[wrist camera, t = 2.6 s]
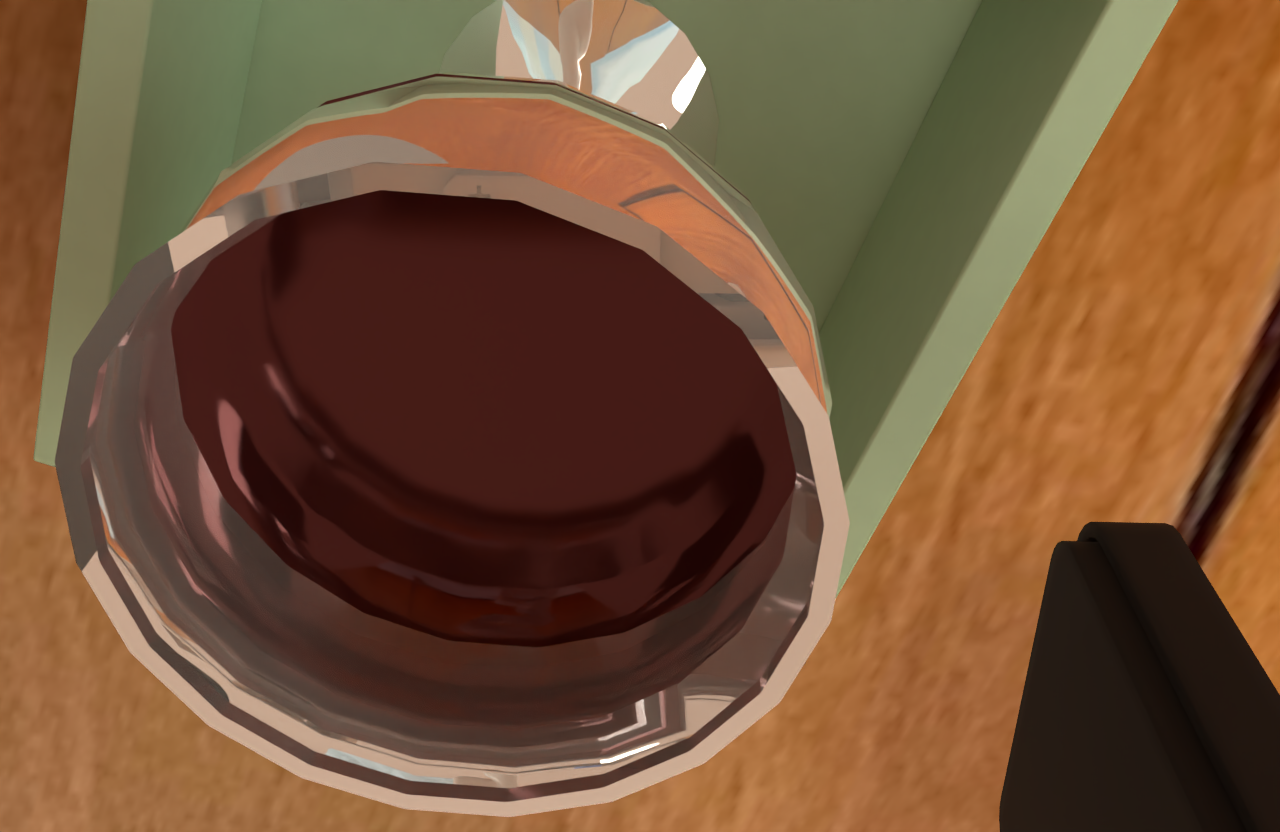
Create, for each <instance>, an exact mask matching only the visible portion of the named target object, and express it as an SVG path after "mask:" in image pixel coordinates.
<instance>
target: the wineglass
mask: <svg viewBox="0 0 1280 832" xmlns="http://www.w3.org/2000/svg"><path fill="white" fill-rule="evenodd" d="M718 125H719V117H718V112H717V108H716V103H715V99H714V94H713V90H712V85H711V80H710V76H709V73H708V72H707V70H706V68H705V67H704V65H703V63H702V61H701V60H700V58H699V56H698V55H697V53H696V51H695V50H694V48H693V46H692V45H691V43H690V41H689V39H688V38H687V36H686V34H685V33H684V32H683V31H681V30H680V29H679V28H678V27H677V26H676V25H675V24H673V23H672V22H671V21H670V20H669V19H668V18H667V17H666V16H664V15H663V14H662V13H661V12H660V11H659V10H658V9H656V8H655V7H654V6H653V5H652V4H651V3H650V2H648V1H646V0H497V1H495V2H494V3H492V4H491V5H489V6H488V7H486V8H485V9H483V10H482V11H480V12H479V13H477V14H476V15H475V16H473V17H472V18H471V19H470V21H469V22H468V23H467V25H466V26H465V27H464V29H463V30H462V31H461V33H460V34H459V35H458V37H457V38H456V40H455V41H454V42H453V44H452V45H451V46H450V48H449V49H448V50H447V52H446V53H445V55H444V58H443V61H442V65H441V68H440V71H439V74H437V73H436V74H432V75H428V76H424V77H420V78H416V79H412V80H408V81H404V82H400V83H396V84H392V85H388V86H384V87H380V88H376V89H372V90H368V91H364V92H360V93H357V94H353V95H349V96H345V97H341V98H337V99H333V100H329V101H326V102H324V103H323V104H321V105H320V106H318V107H317V108H315V109H313V110H311V111H309V112H308V113H306V114H305V115H304V116H302V117H301V118H299V119H298V120H296V121H295V122H293V123H292V124H290V125H289V126H287V127H286V128H284V129H283V130H281V131H280V132H279V133H277V134H276V135H274V136H273V137H271V138H270V139H268V140H267V141H265V142H264V143H262V144H261V145H259V146H258V147H256V148H255V149H254V150H252V151H251V152H249V153H248V154H246V155H245V156H243V157H242V158H240V159H239V160H237V161H236V162H234V163H233V164H231V165H230V166H229V167H227V168H226V169H224V170H223V171H221V172H220V174H219V175H218V177H217V178H216V180H215V181H214V183H213V184H212V186H211V187H210V189H209V190H208V191H207V193H206V194H205V196H204V197H203V199H202V200H201V202H200V203H199V205H198V206H197V208H196V209H195V211H194V212H193V214H192V215H191V217H190V218H189V220H188V221H187V223H186V224H185V225H184V227H183V228H182V230H181V231H180V233H179V234H178V236H176V237H175V238H173V239H172V240H170V241H169V242H167V243H166V244H164V245H163V246H161V247H160V248H158V249H157V250H155V251H154V252H152V253H151V254H149V255H148V256H146V257H145V258H143V259H142V260H140V261H139V262H137V263H136V264H135V265H134V266H133V268H132V269H131V271H130V272H129V274H128V275H127V277H126V278H125V280H124V281H123V283H122V284H121V286H120V287H119V289H118V290H117V292H116V293H115V295H114V297H113V298H112V300H111V301H110V303H109V304H108V306H107V307H106V309H105V310H104V312H103V313H102V315H101V316H100V318H99V319H98V321H97V322H96V324H95V325H94V327H93V328H92V330H91V331H90V333H89V334H88V336H87V337H86V339H85V340H84V342H83V343H82V345H81V346H80V348H79V349H78V351H77V352H76V354H75V355H74V357H73V360H72V365H71V371H70V377H69V382H68V388H67V394H66V399H65V405H64V411H63V416H62V422H61V428H60V433H59V439H58V445H57V451H56V456H55V466H56V470H57V475H58V480H59V484H60V489H61V494H62V498H63V503H64V508H65V512H66V517H67V522H68V526H69V531H70V536H71V540H72V545H73V550H74V554H75V559H76V563H77V565H78V566H79V568H80V570H81V571H82V573H83V575H84V576H85V578H86V580H87V581H88V583H89V585H90V586H91V588H92V590H93V591H94V593H95V595H96V596H97V598H98V600H99V601H100V603H101V605H102V606H103V608H104V610H105V611H106V613H107V615H108V616H109V618H110V620H111V621H112V623H113V625H114V626H115V628H116V630H117V631H118V633H119V635H120V636H121V638H122V640H123V641H124V643H125V645H126V646H127V648H128V650H129V651H130V653H131V654H132V655H133V656H135V657H136V658H137V659H138V660H139V661H140V662H141V663H142V664H143V665H144V666H145V667H146V668H147V669H148V670H149V671H151V672H152V673H153V674H154V675H155V676H156V677H157V678H158V679H159V680H160V681H161V682H162V683H163V684H164V685H165V686H167V687H168V688H169V689H170V690H171V691H172V692H173V693H174V694H175V695H176V696H177V697H178V698H179V699H180V700H181V701H183V702H184V703H185V704H186V705H187V706H188V707H189V708H190V709H191V710H192V711H193V712H194V713H195V714H196V715H197V716H199V717H200V718H201V719H202V720H203V721H204V722H205V723H206V724H207V725H208V726H210V727H212V728H214V729H215V730H217V731H219V732H221V733H222V734H224V735H226V736H228V737H230V738H231V739H233V740H235V741H237V742H238V743H240V744H242V745H244V746H246V747H247V748H249V749H251V750H253V751H254V752H256V753H258V754H260V755H262V756H263V757H265V758H267V759H269V760H270V761H272V762H274V763H276V764H278V765H279V766H281V767H283V768H285V769H286V770H288V771H290V772H292V773H294V774H295V775H297V776H299V777H301V778H303V779H306V780H310V781H313V782H316V783H320V784H323V785H326V786H330V787H333V788H336V789H340V790H343V791H346V792H350V793H353V794H356V795H360V796H363V797H366V798H370V799H373V800H376V801H380V802H383V803H386V804H390V805H393V806H396V807H400V808H403V809H412V810H425V811H438V812H451V813H464V814H477V815H490V816H503V817H513V816H520V815H527V814H534V813H540V812H547V811H554V810H561V809H567V808H574V807H581V806H588V805H594V804H601V803H608V802H613V801H615V800H618V799H620V798H622V797H625V796H627V795H630V794H632V793H634V792H637V791H639V790H642V789H644V788H646V787H649V786H651V785H654V784H656V783H658V782H661V781H663V780H666V779H668V778H670V777H673V776H675V775H678V774H680V773H682V772H685V771H687V770H690V769H692V768H695V767H697V766H699V765H702V764H704V763H705V762H707V761H708V760H709V759H710V758H712V757H713V756H714V755H715V754H716V753H718V752H719V751H720V750H721V749H723V748H724V747H725V746H726V745H728V744H729V743H730V742H731V741H733V740H734V739H735V738H736V737H738V736H739V735H740V734H741V733H743V732H744V731H745V730H746V729H748V728H749V727H750V726H751V725H752V724H754V723H755V722H756V721H757V720H759V719H760V718H761V717H762V716H764V715H765V714H766V713H767V712H769V711H770V710H771V709H772V708H774V707H775V706H776V705H777V704H779V703H780V701H781V700H782V698H783V697H784V695H785V693H786V692H787V690H788V689H789V687H790V685H791V684H792V682H793V681H794V679H795V678H796V676H797V674H798V673H799V671H800V670H801V668H802V666H803V665H804V663H805V662H806V660H807V658H808V657H809V655H810V654H811V652H812V651H813V649H814V647H815V646H816V644H817V643H818V641H819V639H820V638H821V636H822V635H823V633H824V631H825V630H826V628H827V627H828V625H829V623H830V622H831V619H832V614H833V608H834V603H835V598H836V593H837V588H838V582H839V577H840V572H841V567H842V562H843V556H844V551H845V546H846V541H847V535H848V530H849V525H850V521H849V516H848V511H847V506H846V501H845V496H844V491H843V486H842V481H841V476H840V471H839V466H838V461H837V456H836V450H835V445H834V440H833V435H832V430H831V425H830V415H831V409H832V399H831V394H830V389H829V383H828V378H827V373H826V368H825V363H824V358H823V353H822V348H821V343H820V337H819V332H818V327H817V322H816V317H815V312H814V307H813V305H812V303H811V302H810V300H809V298H808V297H807V295H806V293H805V292H804V290H803V288H802V287H801V285H800V283H799V282H798V280H797V278H796V277H795V275H794V273H793V272H792V270H791V268H790V267H789V265H788V264H787V262H786V260H785V259H784V257H783V255H782V254H781V252H780V250H779V249H778V247H777V245H776V244H775V242H774V240H773V239H772V237H771V235H770V234H769V232H768V230H767V229H766V227H765V225H764V224H763V222H762V220H761V219H760V217H759V215H758V214H757V212H756V211H755V209H754V207H753V206H752V204H751V202H750V201H749V199H748V198H747V197H746V195H745V194H744V192H743V191H742V190H740V189H739V188H738V187H737V186H736V185H735V184H733V183H732V182H731V181H730V180H729V179H727V178H726V177H725V176H724V175H723V174H721V173H720V172H719V171H718V170H717V169H716V168H714V167H713V166H714V164H715V154H716V144H717V135H718Z"/></svg>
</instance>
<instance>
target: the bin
mask: <svg viewBox="0 0 1280 832" xmlns="http://www.w3.org/2000/svg"><path fill="white" fill-rule="evenodd" d="M495 1H497V0H87V8H86V17H85V25H84V34H83V42H82V51H81V59H80V68H79V76H78V85H77V93H76V102H75V110H74V119H73V127H72V136H71V144H70V153H69V161H68V170H67V178H66V187H65V195H64V204H63V212H62V221H61V229H60V238H59V246H58V255H57V263H56V272H55V280H54V289H53V297H52V306H51V314H50V322H49V331H48V339H47V348H46V356H45V365H44V373H43V382H42V390H41V399H40V407H39V416H38V424H37V433H36V441H35V450H34V460H35V461H37V462H40V463H44V464H47V465H50V466H54V467H56V466H55V456H56V451H57V445H58V439H59V433H60V428H61V422H62V416H63V411H64V405H65V399H66V394H67V388H68V382H69V377H70V371H71V365H72V360H73V357H74V355H75V354H76V352H77V351H78V349H79V348H80V346H81V345H82V343H83V342H84V340H85V339H86V337H87V336H88V334H89V333H90V331H91V330H92V328H93V327H94V325H95V324H96V322H97V321H98V319H99V318H100V316H101V315H102V313H103V312H104V310H105V309H106V307H107V306H108V304H109V303H110V301H111V300H112V298H113V297H114V295H115V293H116V292H117V290H118V289H119V287H120V286H121V284H122V283H123V281H124V280H125V278H126V277H127V275H128V274H129V272H130V271H131V269H132V268H133V266H134V265H135V264H136V263H137V262H139V261H140V260H142V259H143V258H145V257H146V256H148V255H149V254H151V253H152V252H154V251H155V250H157V249H158V248H160V247H161V246H163V245H164V244H166V243H167V242H169V241H170V240H172V239H173V238H175V237H176V236H178V234H179V233H180V231H181V230H182V228H183V227H184V225H185V224H186V223H187V221H188V220H189V218H190V217H191V215H192V214H193V212H194V211H195V209H196V208H197V206H198V205H199V203H200V202H201V200H202V199H203V197H204V196H205V194H206V193H207V191H208V190H209V189H210V187H211V186H212V184H213V183H214V181H215V180H216V178H217V177H218V175H219V174H220V172H221V171H223V170H224V169H226V168H227V167H229V166H230V165H231V164H233V163H234V162H236V161H237V160H239V159H240V158H242V157H243V156H245V155H246V154H248V153H249V152H251V151H252V150H254V149H255V148H256V147H258V146H259V145H261V144H262V143H264V142H265V141H267V140H268V139H270V138H271V137H273V136H274V135H276V134H277V133H279V132H280V131H281V130H283V129H284V128H286V127H287V126H289V125H290V124H292V123H293V122H295V121H296V120H298V119H299V118H301V117H302V116H304V115H305V114H306V113H308V112H309V111H311V110H313V109H315V108H317V107H318V106H320V105H321V104H323V103H324V102H326V101H329V100H333V99H337V98H341V97H345V96H349V95H353V94H357V93H360V92H364V91H368V90H372V89H376V88H380V87H384V86H388V85H392V84H396V83H400V82H404V81H408V80H412V79H416V78H420V77H424V76H428V75H432V74H436V73H437V74H439V71H440V68H441V65H442V61H443V58H444V55H445V53H446V52H447V50H448V49H449V48H450V46H451V45H452V44H453V42H454V41H455V40H456V38H457V37H458V35H459V34H460V33H461V31H462V30H463V29H464V27H465V26H466V25H467V23H468V22H469V21H470V19H471V18H472V17H473V16H475V15H476V14H477V13H479V12H480V11H482V10H483V9H485V8H486V7H488V6H489V5H491V4H492V3H494V2H495ZM646 1H648V2H650V3H651V4H652V5H653V6H654V7H655V8H656V9H658V10H659V11H660V12H661V13H662V14H663V15H664V16H666V17H667V18H668V19H669V20H670V21H671V22H672V23H673V24H675V25H676V26H677V27H678V28H679V29H680V30H681V31H683V32H684V33H685V34H686V36H687V38H688V39H689V41H690V43H691V45H692V46H693V48H694V50H695V51H696V53H697V55H698V56H699V58H700V60H701V61H702V63H703V65H704V67H705V68H706V70H707V72H708V73H709V76H710V80H711V85H712V90H713V94H714V99H715V103H716V108H717V112H718V117H719V125H718V135H717V144H716V154H715V164H714V166H713V167H714V168H716V169H717V170H718V171H719V172H720V173H721V174H723V175H724V176H725V177H726V178H727V179H729V180H730V181H731V182H732V183H733V184H735V185H736V186H737V187H738V188H739V189H740V190H742V191H743V192H744V194H745V195H746V197H747V198H748V199H749V201H750V202H751V204H752V206H753V207H754V209H755V211H756V212H757V214H758V215H759V217H760V219H761V220H762V222H763V224H764V225H765V227H766V229H767V230H768V232H769V234H770V235H771V237H772V239H773V240H774V242H775V244H776V245H777V247H778V249H779V250H780V252H781V254H782V255H783V257H784V259H785V260H786V262H787V264H788V265H789V267H790V268H791V270H792V272H793V273H794V275H795V277H796V278H797V280H798V282H799V283H800V285H801V287H802V288H803V290H804V292H805V293H806V295H807V297H808V298H809V300H810V302H811V303H812V305H813V307H814V312H815V317H816V322H817V327H818V332H819V337H820V343H821V348H822V353H823V358H824V363H825V368H826V373H827V378H828V383H829V389H830V394H831V399H832V409H831V415H830V425H831V430H832V435H833V440H834V445H835V450H836V456H837V461H838V466H839V471H840V476H841V481H842V486H843V491H844V496H845V501H846V506H847V511H848V516H849V521H850V525H849V530H848V535H847V541H846V546H845V551H844V556H843V562H842V567H841V572H840V577H839V582H838V588H837V593H836V597H837V596H838V594H839V592H840V590H841V589H842V587H843V585H844V583H845V582H846V580H847V578H848V576H849V575H850V573H851V571H852V569H853V568H854V566H855V564H856V562H857V561H858V559H859V557H860V555H861V554H862V552H863V550H864V548H865V547H866V545H867V543H868V541H869V540H870V538H871V536H872V534H873V533H874V531H875V529H876V527H877V526H878V524H879V522H880V520H881V519H882V517H883V515H884V513H885V512H886V510H887V508H888V506H889V505H890V503H891V501H892V500H893V498H894V496H895V494H896V493H897V491H898V489H899V487H900V486H901V484H902V482H903V480H904V479H905V477H906V475H907V473H908V472H909V470H910V468H911V466H912V465H913V463H914V461H915V459H916V458H917V456H918V454H919V452H920V451H921V449H922V447H923V445H924V444H925V442H926V440H927V438H928V437H929V435H930V433H931V431H932V430H933V428H934V426H935V424H936V423H937V421H938V419H939V417H940V416H941V414H942V412H943V410H944V409H945V407H946V405H947V404H948V402H949V400H950V398H951V397H952V395H953V393H954V391H955V390H956V388H957V386H958V384H959V383H960V381H961V379H962V377H963V376H964V374H965V372H966V370H967V369H968V367H969V365H970V363H971V362H972V360H973V358H974V356H975V355H976V353H977V351H978V349H979V348H980V346H981V344H982V342H983V341H984V339H985V337H986V335H987V334H988V332H989V330H990V328H991V327H992V325H993V323H994V321H995V320H996V318H997V316H998V314H999V313H1000V311H1001V309H1002V308H1003V306H1004V304H1005V302H1006V301H1007V299H1008V297H1009V295H1010V294H1011V292H1012V290H1013V288H1014V287H1015V285H1016V283H1017V281H1018V280H1019V278H1020V276H1021V274H1022V273H1023V271H1024V269H1025V267H1026V266H1027V264H1028V262H1029V260H1030V259H1031V257H1032V255H1033V253H1034V252H1035V250H1036V248H1037V246H1038V245H1039V243H1040V241H1041V239H1042V238H1043V236H1044V234H1045V232H1046V231H1047V229H1048V227H1049V225H1050V224H1051V222H1052V220H1053V218H1054V217H1055V215H1056V213H1057V212H1058V210H1059V208H1060V206H1061V205H1062V203H1063V201H1064V199H1065V198H1066V196H1067V194H1068V192H1069V191H1070V189H1071V187H1072V185H1073V184H1074V182H1075V180H1076V178H1077V177H1078V175H1079V173H1080V171H1081V170H1082V168H1083V166H1084V164H1085V163H1086V161H1087V159H1088V157H1089V156H1090V154H1091V152H1092V150H1093V149H1094V147H1095V145H1096V143H1097V142H1098V140H1099V138H1100V136H1101V135H1102V133H1103V131H1104V129H1105V128H1106V126H1107V124H1108V122H1109V121H1110V119H1111V117H1112V116H1113V114H1114V112H1115V110H1116V109H1117V107H1118V105H1119V103H1120V102H1121V100H1122V98H1123V96H1124V95H1125V93H1126V91H1127V89H1128V88H1129V86H1130V84H1131V82H1132V81H1133V79H1134V77H1135V75H1136V74H1137V72H1138V70H1139V68H1140V67H1141V65H1142V63H1143V61H1144V60H1145V58H1146V56H1147V54H1148V53H1149V51H1150V49H1151V47H1152V46H1153V44H1154V42H1155V40H1156V39H1157V37H1158V35H1159V33H1160V32H1161V30H1162V28H1163V26H1164V25H1165V23H1166V21H1167V19H1168V18H1169V16H1170V14H1171V13H1172V11H1173V9H1174V7H1175V6H1176V4H1177V2H1178V0H646ZM835 599H836V598H835Z"/></svg>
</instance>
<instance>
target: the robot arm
mask: <svg viewBox="0 0 1280 832" xmlns="http://www.w3.org/2000/svg"><path fill="white" fill-rule="evenodd" d="M999 822H1000V832H1280V695H1279V693H1278V692H1277V690H1276V688H1275V687H1274V685H1273V684H1272V682H1271V680H1270V679H1269V677H1268V675H1267V674H1266V672H1265V671H1264V669H1263V667H1262V666H1261V664H1260V662H1259V661H1258V659H1257V658H1256V656H1255V654H1254V653H1253V651H1252V650H1251V648H1250V646H1249V645H1248V643H1247V641H1246V640H1245V638H1244V637H1243V635H1242V633H1241V632H1240V630H1239V629H1238V627H1237V625H1236V624H1235V622H1234V620H1233V619H1232V617H1231V616H1230V614H1229V612H1228V611H1227V609H1226V608H1225V606H1224V604H1223V603H1222V601H1221V599H1220V598H1219V596H1218V595H1217V593H1216V591H1215V590H1214V588H1213V586H1212V585H1211V583H1210V582H1209V580H1208V578H1207V577H1206V575H1205V574H1204V572H1203V570H1202V569H1201V567H1200V565H1199V564H1198V562H1197V561H1196V559H1195V557H1194V556H1193V554H1192V553H1191V551H1190V549H1189V548H1188V546H1187V544H1186V543H1185V541H1184V540H1183V538H1182V536H1181V535H1180V533H1179V532H1178V531H1177V530H1176V529H1175V528H1174V527H1173V526H1172V525H1169V524H1166V523H1122V522H1090V523H1088V524H1086V525H1085V526H1084V527H1083V529H1082V530H1081V532H1080V534H1079V537H1078V540H1077V541H1061V542H1059V543H1057V545H1056V547H1055V548H1054V551H1053V554H1052V557H1051V562H1050V566H1049V571H1048V576H1047V581H1046V585H1045V590H1044V595H1043V600H1042V605H1041V609H1040V614H1039V619H1038V624H1037V628H1036V633H1035V638H1034V643H1033V648H1032V652H1031V657H1030V662H1029V667H1028V671H1027V676H1026V681H1025V686H1024V691H1023V695H1022V700H1021V705H1020V710H1019V714H1018V719H1017V724H1016V729H1015V733H1014V738H1013V743H1012V748H1011V753H1010V757H1009V762H1008V767H1007V772H1006V776H1005V781H1004V786H1003V791H1002V796H1001V802H1000V814H999Z"/></svg>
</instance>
